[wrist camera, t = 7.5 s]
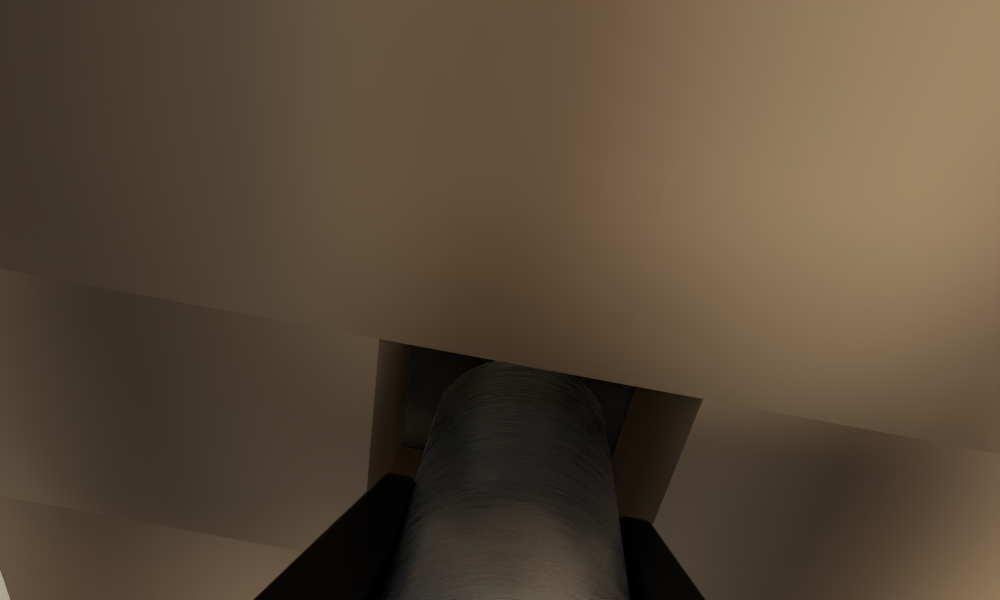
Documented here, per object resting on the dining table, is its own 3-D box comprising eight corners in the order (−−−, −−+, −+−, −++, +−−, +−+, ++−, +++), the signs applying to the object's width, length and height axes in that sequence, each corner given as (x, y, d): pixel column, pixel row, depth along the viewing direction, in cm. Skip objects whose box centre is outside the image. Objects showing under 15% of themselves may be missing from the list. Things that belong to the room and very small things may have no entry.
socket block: (1315, -55, 7) (1753, -103, 5) (786, 711, 15) (836, 857, 13) (-28, -304, 7) (-358, -496, 5) (136, 591, 15) (48, 711, 13)
